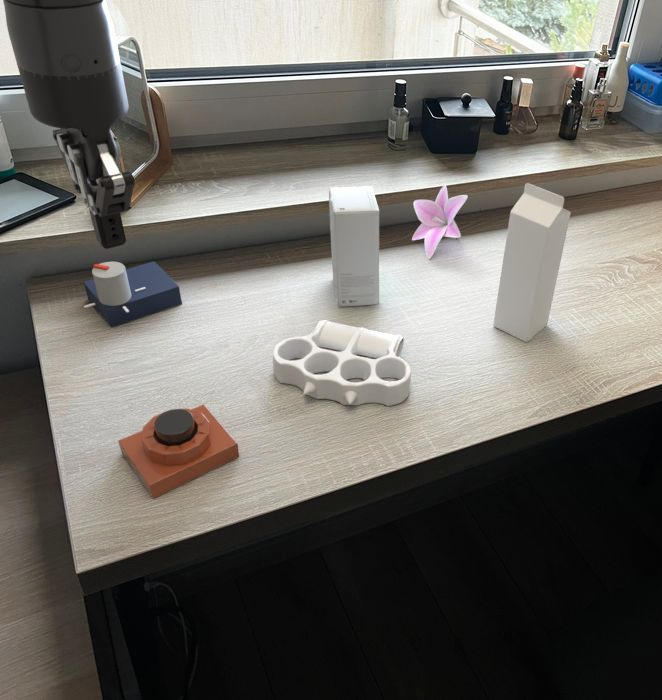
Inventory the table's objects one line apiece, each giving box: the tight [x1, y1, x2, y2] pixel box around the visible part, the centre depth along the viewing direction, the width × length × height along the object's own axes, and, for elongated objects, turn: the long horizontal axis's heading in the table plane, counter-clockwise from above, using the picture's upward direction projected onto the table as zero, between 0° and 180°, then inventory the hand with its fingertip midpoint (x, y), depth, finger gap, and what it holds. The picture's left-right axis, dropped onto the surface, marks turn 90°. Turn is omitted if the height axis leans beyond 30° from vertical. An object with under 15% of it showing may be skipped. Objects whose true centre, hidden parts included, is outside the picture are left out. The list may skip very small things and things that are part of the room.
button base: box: [117, 404, 240, 499], centre depth 80 cm, size 10×8×4 cm
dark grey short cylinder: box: [154, 408, 196, 446], centre depth 78 cm, size 4×4×2 cm
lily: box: [411, 183, 469, 260], centre depth 122 cm, size 12×12×10 cm
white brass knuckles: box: [272, 319, 412, 407], centre depth 94 cm, size 3×18×15 cm
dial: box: [91, 261, 131, 306], centre depth 96 cm, size 4×4×5 cm
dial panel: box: [83, 261, 183, 328], centre depth 100 cm, size 12×10×3 cm
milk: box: [492, 182, 572, 343], centre depth 100 cm, size 6×6×22 cm
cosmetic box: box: [328, 185, 380, 308], centre depth 105 cm, size 8×7×16 cm
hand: (112, 243), depth 69 cm, fingers closed
